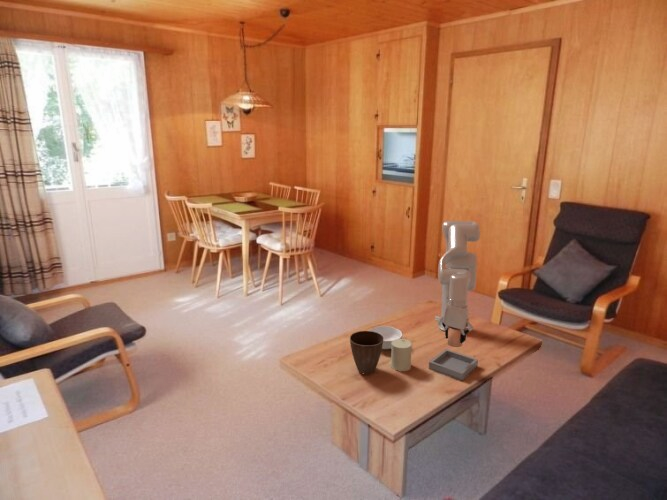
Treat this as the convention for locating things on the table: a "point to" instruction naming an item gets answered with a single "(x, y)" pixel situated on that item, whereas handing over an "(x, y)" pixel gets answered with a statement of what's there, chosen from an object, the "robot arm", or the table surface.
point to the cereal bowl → (387, 335)
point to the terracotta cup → (454, 337)
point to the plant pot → (366, 350)
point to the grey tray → (453, 364)
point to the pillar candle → (401, 354)
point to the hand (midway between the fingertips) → (455, 339)
